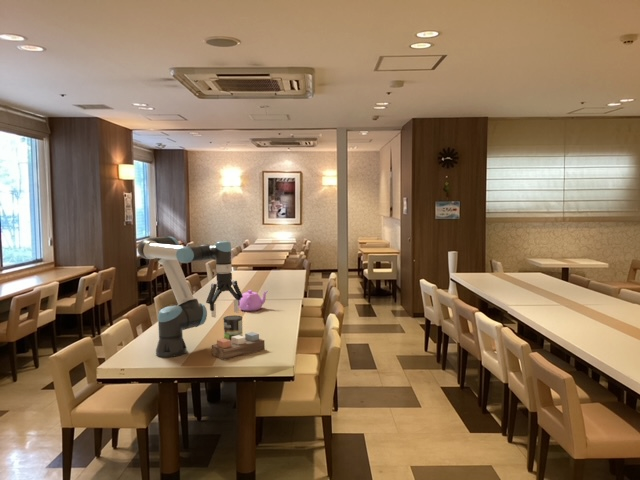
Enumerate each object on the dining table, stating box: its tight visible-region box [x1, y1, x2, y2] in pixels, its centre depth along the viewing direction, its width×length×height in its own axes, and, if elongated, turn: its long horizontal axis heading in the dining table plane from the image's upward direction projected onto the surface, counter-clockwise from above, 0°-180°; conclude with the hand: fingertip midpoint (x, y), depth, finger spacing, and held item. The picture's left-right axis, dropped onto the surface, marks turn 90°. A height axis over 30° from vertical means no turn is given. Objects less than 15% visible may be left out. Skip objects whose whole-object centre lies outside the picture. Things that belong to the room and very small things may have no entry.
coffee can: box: [223, 315, 244, 340], centre depth 274 cm, size 10×10×14 cm
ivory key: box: [231, 335, 245, 345], centre depth 257 cm, size 6×4×3 cm
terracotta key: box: [216, 337, 231, 348], centre depth 251 cm, size 6×4×3 cm
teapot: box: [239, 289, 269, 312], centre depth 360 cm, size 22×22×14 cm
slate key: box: [244, 331, 260, 341], centre depth 262 cm, size 6×4×3 cm
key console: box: [211, 338, 266, 361], centre depth 257 cm, size 12×24×5 cm, turn 133°
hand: (225, 314), depth 251 cm, fingers open, 13 cm apart
